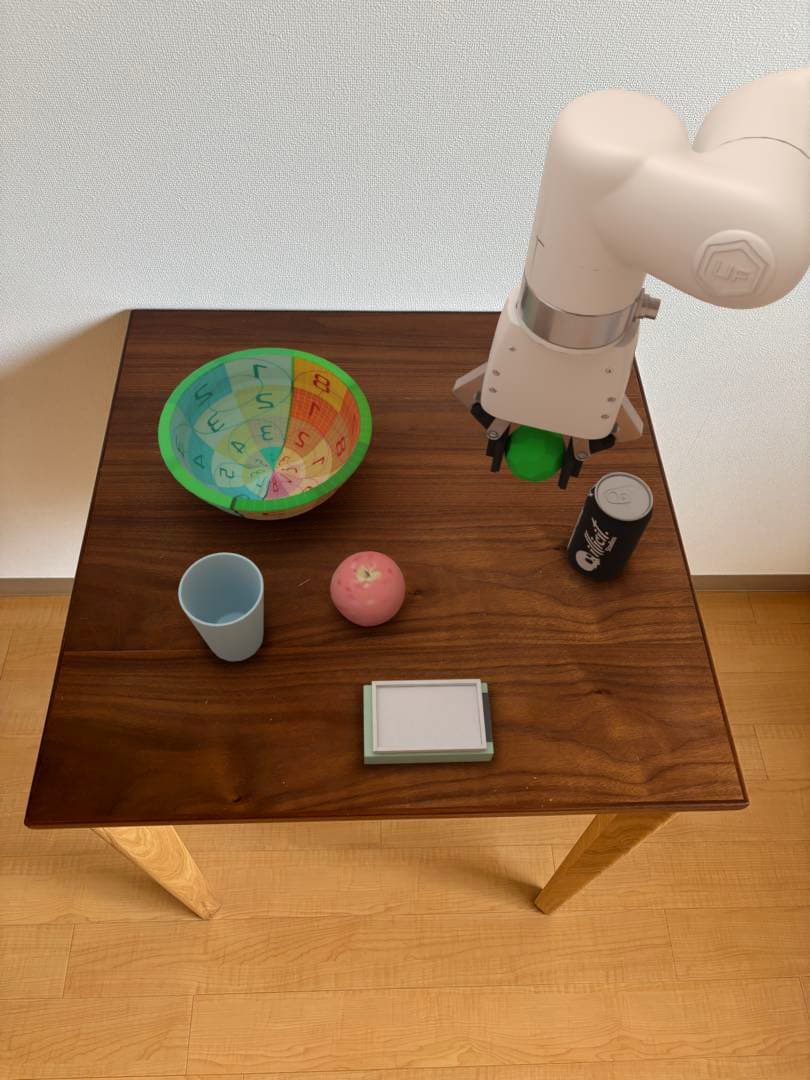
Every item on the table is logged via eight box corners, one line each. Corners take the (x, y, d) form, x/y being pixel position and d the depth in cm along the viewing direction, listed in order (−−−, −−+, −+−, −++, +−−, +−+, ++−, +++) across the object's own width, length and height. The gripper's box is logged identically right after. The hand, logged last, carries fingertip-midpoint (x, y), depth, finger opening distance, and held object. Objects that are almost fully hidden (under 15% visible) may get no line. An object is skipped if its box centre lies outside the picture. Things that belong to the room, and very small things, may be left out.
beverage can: (628, 585, 88) (662, 524, 78) (568, 583, 88) (594, 521, 78) (620, 534, 92) (652, 469, 82) (562, 532, 92) (587, 467, 82)
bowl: (233, 384, 102) (221, 323, 93) (400, 439, 98) (403, 381, 89) (138, 521, 90) (115, 466, 82) (323, 590, 87) (318, 540, 78)
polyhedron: (560, 495, 68) (572, 459, 63) (500, 490, 68) (509, 454, 64) (558, 448, 70) (570, 411, 66) (501, 443, 70) (509, 406, 66)
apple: (368, 652, 83) (369, 617, 76) (318, 608, 85) (314, 569, 79) (417, 606, 86) (422, 568, 79) (367, 564, 88) (368, 524, 82)
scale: (484, 691, 81) (488, 677, 78) (490, 761, 77) (495, 749, 74) (363, 694, 81) (363, 680, 77) (364, 764, 77) (364, 752, 74)
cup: (182, 632, 83) (161, 582, 74) (245, 590, 86) (232, 537, 77) (225, 686, 80) (208, 641, 72) (288, 641, 83) (279, 592, 74)
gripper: (712, 289, 54) (636, 458, 70) (463, 236, 56) (443, 412, 72) (703, 367, 50) (625, 528, 66) (436, 308, 52) (421, 477, 68)
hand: (531, 466), depth 68 cm, fingers closed on polyhedron, 5 cm apart
